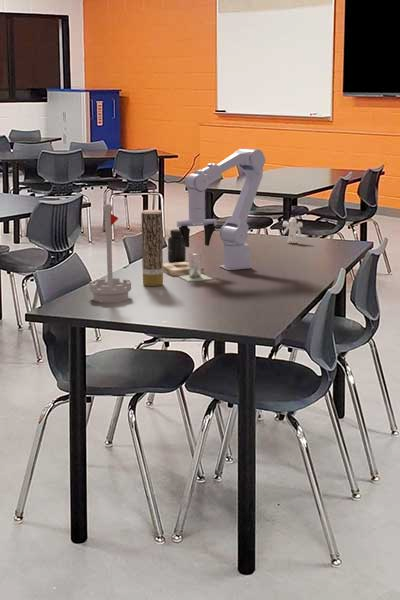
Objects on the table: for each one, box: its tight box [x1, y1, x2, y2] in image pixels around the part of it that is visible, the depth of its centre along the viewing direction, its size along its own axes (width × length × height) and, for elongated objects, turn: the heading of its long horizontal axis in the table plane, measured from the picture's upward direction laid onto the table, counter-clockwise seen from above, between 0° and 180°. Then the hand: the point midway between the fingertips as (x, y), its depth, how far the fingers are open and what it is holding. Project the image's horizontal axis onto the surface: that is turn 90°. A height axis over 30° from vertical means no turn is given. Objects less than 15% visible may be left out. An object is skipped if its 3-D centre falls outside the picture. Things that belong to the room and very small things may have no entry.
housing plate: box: [163, 261, 205, 277], centre depth 325 cm, size 12×14×2 cm
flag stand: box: [89, 203, 132, 303], centre depth 280 cm, size 13×13×30 cm
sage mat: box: [178, 273, 213, 283], centre depth 312 cm, size 9×9×1 cm
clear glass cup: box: [188, 253, 202, 278], centre depth 312 cm, size 4×4×8 cm
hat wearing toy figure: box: [282, 214, 303, 242], centre depth 383 cm, size 9×4×12 cm, turn 63°
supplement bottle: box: [167, 228, 187, 263], centre depth 344 cm, size 7×7×12 cm
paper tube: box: [140, 209, 164, 287], centre depth 300 cm, size 7×7×25 cm
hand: (197, 246), depth 319 cm, fingers open, 7 cm apart
